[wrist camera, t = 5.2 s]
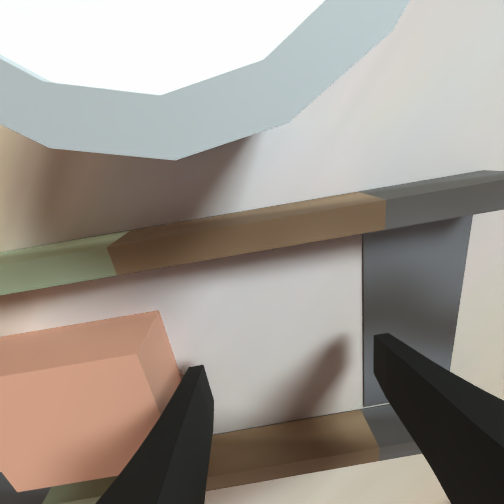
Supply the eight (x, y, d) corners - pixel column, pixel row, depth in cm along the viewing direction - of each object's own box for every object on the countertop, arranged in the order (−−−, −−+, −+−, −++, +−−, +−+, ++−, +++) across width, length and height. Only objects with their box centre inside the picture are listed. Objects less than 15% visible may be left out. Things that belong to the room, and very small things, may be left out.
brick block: (191, 402, 14) (180, 465, 11) (62, 423, 14) (17, 492, 11) (160, 306, 12) (136, 354, 9) (7, 331, 12) (-65, 387, 9)
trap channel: (446, 406, 15) (478, 443, 13) (-58, 494, 15) (-102, 544, 13) (482, 170, 10) (540, 173, 8) (-252, 295, 10) (-366, 327, 8)
